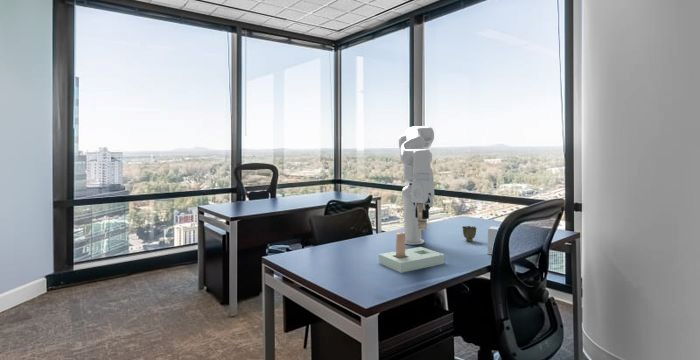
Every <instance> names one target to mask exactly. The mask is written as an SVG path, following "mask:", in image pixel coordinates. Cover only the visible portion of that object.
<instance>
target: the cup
mask: <svg viewBox="0 0 700 360" xmlns="http://www.w3.org/2000/svg"><path fill="white" fill-rule="evenodd" d="M476 233H477V227H476V226H473V225H472V226H471V225H463V226H462V234H463V237H464V238H465V241H466V242H470V243H471V242H473V240H474V238H475V237H476V235H477V234H476Z"/></svg>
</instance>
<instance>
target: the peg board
mask: <svg viewBox="0 0 700 360" xmlns="http://www.w3.org/2000/svg"><path fill="white" fill-rule="evenodd" d="M445 259H446V258H445V254H444V253H442V252H438V251H435V250H433V249H429V248H426V247H422V246H418V247H412V248H405V258H401V259H399V258H396V250H395V251H390V252H383V253H379V254H378V264H379V265H382V266H384V267H387V268H389V269H391V270H394V271H396V272H398V273H400V274H401V273H406V272H411V271H416V270H421V269H425V268H429V267H434V266H438V265H444V264H445V262H446V261H445Z"/></svg>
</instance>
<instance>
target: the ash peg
mask: <svg viewBox="0 0 700 360" xmlns="http://www.w3.org/2000/svg"><path fill="white" fill-rule="evenodd" d="M425 203H427V202H425ZM425 205H427V204H425ZM417 208H418V220H417V221H418V230H421V231H426V230H427V227H428V226H427V223H428V221H427V220H428V219H422V210H423V203H417Z"/></svg>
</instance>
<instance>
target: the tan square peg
mask: <svg viewBox="0 0 700 360" xmlns="http://www.w3.org/2000/svg"><path fill="white" fill-rule="evenodd" d="M405 249H406V244H405V233H403V232H396V233H395V251H396V258H399V259H401V258H405Z"/></svg>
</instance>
